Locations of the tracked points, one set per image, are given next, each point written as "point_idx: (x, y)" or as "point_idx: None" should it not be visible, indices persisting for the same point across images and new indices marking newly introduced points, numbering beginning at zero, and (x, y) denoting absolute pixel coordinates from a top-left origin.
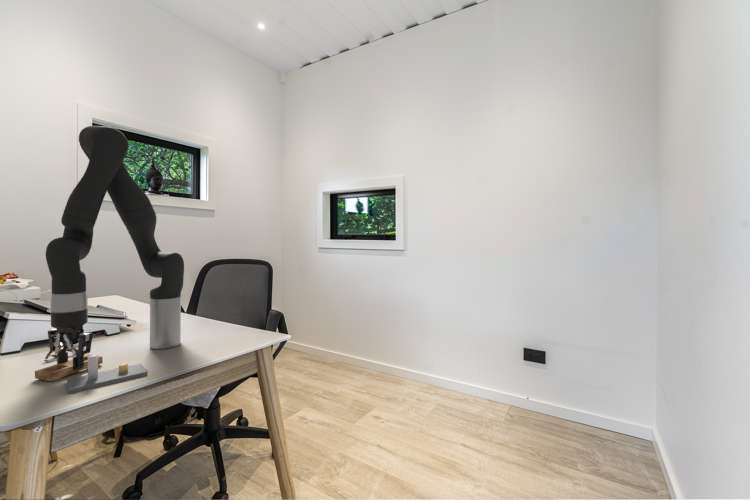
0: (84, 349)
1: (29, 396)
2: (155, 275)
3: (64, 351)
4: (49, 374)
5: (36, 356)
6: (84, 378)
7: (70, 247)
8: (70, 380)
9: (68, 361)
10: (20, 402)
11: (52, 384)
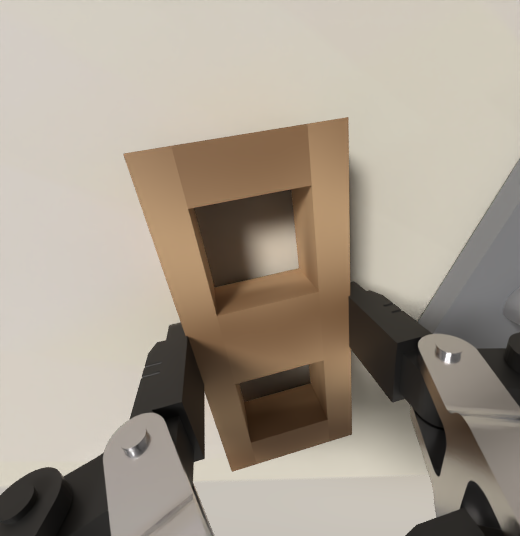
0: (492, 377)
1: (388, 441)
2: None
3: (183, 444)
4: (348, 431)
5: None
6: (480, 322)
7: None
8: None
9: (212, 338)
10: (407, 456)
11: (354, 387)
